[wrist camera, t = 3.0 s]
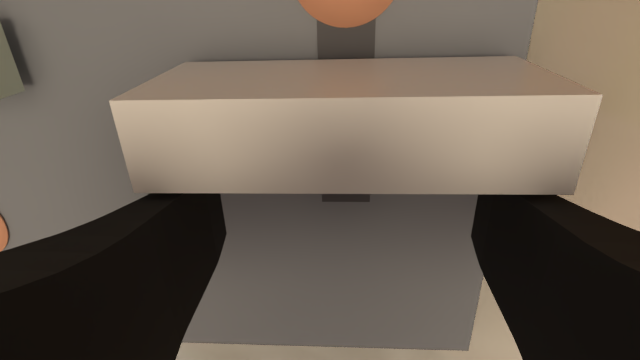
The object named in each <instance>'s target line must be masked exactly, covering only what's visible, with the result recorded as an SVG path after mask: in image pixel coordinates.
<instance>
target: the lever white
mask: <svg viewBox="0 0 640 360" xmlns="http://www.w3.org/2000/svg"><path fill="white" fill-rule="evenodd" d="M602 97H603V94H600V93H598V92H596V91H594V90H591V89H589V88H587V87H585V86H582V85H580V84H578V83H576V82H573V81H571V80H569V79H567V78H564V77H562V76H560V75H558V74H555V73H553V72H551V71H549V70H546V69H544V68H542V67H540V66H537V65H535V64H533V63H531V62H528V61H526V60H524V59H522V58H519V57H517V56H485V57H431V58H377V59H323V60H269V61H214V62H184V63H182V64H180V65H178V66H176V67H174V68H172V69H170V70H168V71H166V72H164V73H162V74H160V75H158V76H156V77H155V78H153V79H151V80H149V81H147V82H145V83H143V84H141V85H139V86H137V87H135V88H133V89H131V90H129V91H127V92H125V93H123V94H121V95H119V96H117V97H115V98H113V99H111V100H109V103H110V107H111V111H112V115H113V118H114V122H115V126H116V129H117V133H118V137H119V140H120V144H121V148H122V151H123V155H124V159H125V162H126V166H127V170H128V173H129V177H130V181H131V184H132V188H133V192H134V193H249V194H510V195H574V191H575V188H576V185H577V181H578V178H579V174H580V171H581V168H582V164H583V161H584V158H585V154H586V151H587V147H588V144H589V141H590V137H591V134H592V130H593V127H594V124H595V120H596V117H597V113H598V110H599V107H600V103H601V100H602Z"/></svg>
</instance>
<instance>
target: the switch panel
mask: <svg viewBox="0 0 640 360" xmlns="http://www.w3.org/2000/svg"><path fill="white" fill-rule="evenodd" d="M537 4H538V0H0V23H1V25H2V28H3V31H4V34H5V36H6V39H7V42H8V45H9V47H10V50H11V53H12V56H13V58H14V61H15V64H16V67H17V69H18V72H19V75H20V78H21V80H22V83H23V86H24V89H25V91H23V92H20V93H17V94H14V95H11V96H8V97H5V98H2V99H0V252H1V251H4V250H8V249H11V248H14V247H18V246H21V245H24V244H27V243H30V242H34V241H37V240H40V239H43V238H47V237H50V236H53V235H56V234H59V233H62V232H64V231H67V230H70V229H72V228H75V227H77V226H80V225H83V224H85V223H88V222H90V221H93V220H95V219H97V218H100V217H102V216H104V215H106V214H109V213H111V212H113V211H115V210H117V209H119V208H121V207H123V206H125V205H128V204H130V203H132V202H134V201H136V200H138V199H140V198H142V197H144V196H146V195H148V194H150V193H134V192H133V188H132V184H131V181H130V177H129V173H128V170H127V166H126V162H125V159H124V155H123V151H122V148H121V144H120V140H119V137H118V133H117V129H116V126H115V122H114V118H113V115H112V111H111V107H110V103H109V100H111V99H113V98H115V97H117V96H119V95H121V94H123V93H125V92H127V91H129V90H131V89H133V88H135V87H137V86H139V85H141V84H143V83H145V82H147V81H149V80H151V79H153V78H155V77H156V76H158V75H160V74H162V73H164V72H166V71H168V70H170V69H172V68H174V67H176V66H178V65H180V64H182V63H184V62H214V61H269V60H323V59H377V58H431V57H485V56H517V57H519V58H522V59H524V60H526V59H527V54H528V49H529V44H530V39H531V34H532V29H533V24H534V19H535V14H536V9H537ZM220 195H221V201H222V207H223V214H224V220H225V226H226V232H227V234H226V238H225V241H224V245H223V249H222V252H221V255H220V258H219V261H218V264H217V266H216V269H215V271H214V273H213V275H212V277H211V279H210V282H209V284H208V286H207V288H206V290H205V292H204V294H203V297H202V299H201V301H200V303H199V305H198V307H197V309H196V311H195V313H194V316H193V318H192V320H191V322H190V324H189V326H188V328H187V331H186V333H185V335H184V338H183V340H182V342H188V343H222V344H256V345H290V346H325V347H359V348H393V349H428V350H462V351H468V350H469V345H470V340H471V335H472V330H473V325H474V320H475V315H476V310H477V305H478V300H479V295H480V290H481V284H482V279H483V272H482V270H481V268H480V265H479V262H478V259H477V256H476V253H475V249H474V246H473V242H472V239H471V232H472V226H473V221H474V215H475V209H476V203H477V198H478V194H249V193H220Z"/></svg>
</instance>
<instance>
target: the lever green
mask: <svg viewBox="0 0 640 360" xmlns="http://www.w3.org/2000/svg"><path fill="white" fill-rule="evenodd" d="M23 91H25V89H24V86H23V83H22V80H21V78H20V75H19V72H18V69H17V67H16V64H15V61H14V58H13V56H12V53H11V50H10V47H9V45H8V42H7V39H6V36H5V34H4V31H3V28H2V25H1V23H0V99H2V98H5V97H8V96H11V95H14V94H17V93H20V92H23Z"/></svg>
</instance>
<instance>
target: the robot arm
mask: <svg viewBox="0 0 640 360" xmlns="http://www.w3.org/2000/svg"><path fill="white" fill-rule="evenodd" d="M226 234H227V232H226V226H225V220H224V214H223V207H222V201H221V195H220V193H150V194H148V195H146V196H144V197H142V198H140V199H138V200H136V201H134V202H132V203H130V204H128V205H125V206H123V207H121V208H119V209H117V210H115V211H113V212H111V213H109V214H106V215H104V216H102V217H100V218H97V219H95V220H93V221H90V222H88V223H85V224H83V225H80V226H77V227H75V228H72V229H70V230H67V231H64V232H62V233H59V234H56V235H53V236H50V237H47V238H43V239H40V240H37V241H34V242H30V243H27V244H24V245H21V246H18V247H14V248H11V249H8V250H4V251H1V252H0V360H175V359H176V357H177V354H178V351H179V348H180V345H181V343H182V340H183V338H184V335H185V333H186V331H187V328H188V326H189V324H190V322H191V320H192V318H193V316H194V313H195V311H196V309H197V307H198V305H199V303H200V301H201V299H202V297H203V294H204V292H205V290H206V288H207V286H208V284H209V282H210V279H211V277H212V275H213V273H214V271H215V269H216V266H217V264H218V261H219V258H220V255H221V252H222V249H223V245H224V241H225V238H226ZM471 239H472V242H473V246H474V249H475V253H476V256H477V259H478V262H479V265H480V268H481V270H482V272H483V275H484V277H485V279H486V281H487V283H488V285H489V287H490V290H491V292H492V294H493V296H494V298H495V300H496V302H497V304H498V306H499V308H500V310H501V312H502V314H503V316H504V319H505V321H506V323H507V325H508V327H509V329H510V331H511V333H512V335H513V337H514V339H515V342H516V344H517V346H518V349H519V351H520V353H521V356H522V359H523V360H640V231H637V230H634V229H631V228H629V227H626V226H624V225H621V224H619V223H616V222H614V221H612V220H609V219H607V218H605V217H603V216H600V215H598V214H596V213H593V212H591V211H589V210H587V209H584V208H582V207H580V206H578V205H576V204H574V203H572V202H569V201H567V200H565V199H563V198H561V197H559V196H557V195H510V194H478V198H477V203H476V209H475V215H474V221H473V226H472V232H471Z"/></svg>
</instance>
